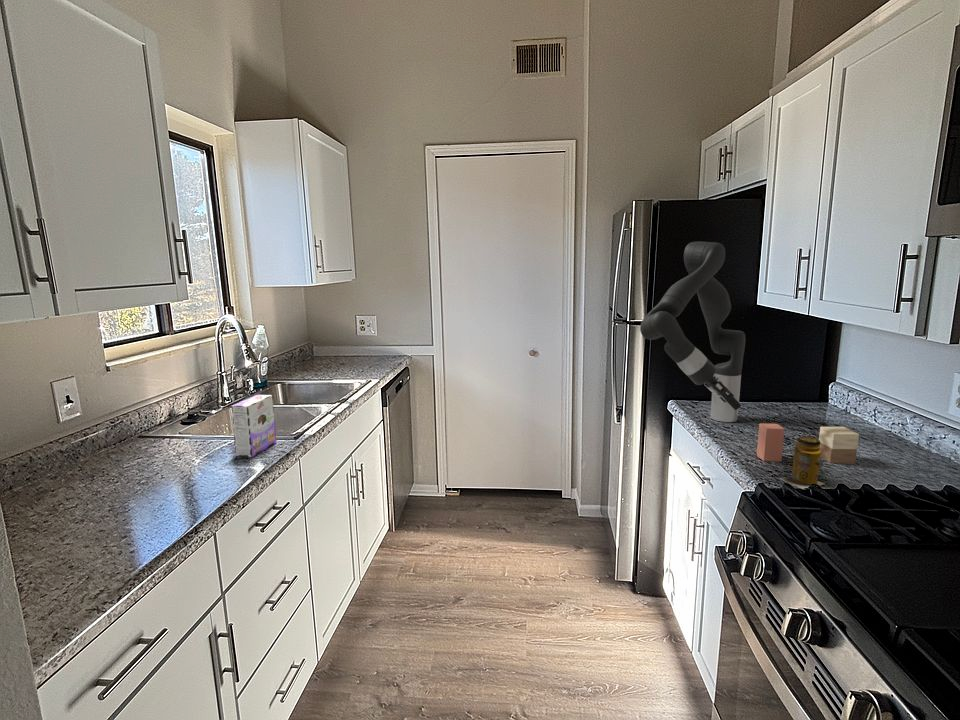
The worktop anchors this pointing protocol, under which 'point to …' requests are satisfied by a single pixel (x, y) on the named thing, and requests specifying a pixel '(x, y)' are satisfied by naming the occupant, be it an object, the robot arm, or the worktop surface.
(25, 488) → the worktop surface
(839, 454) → the tower base
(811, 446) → the condiment
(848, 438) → the tower top
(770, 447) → the tall block
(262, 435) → the candy box
